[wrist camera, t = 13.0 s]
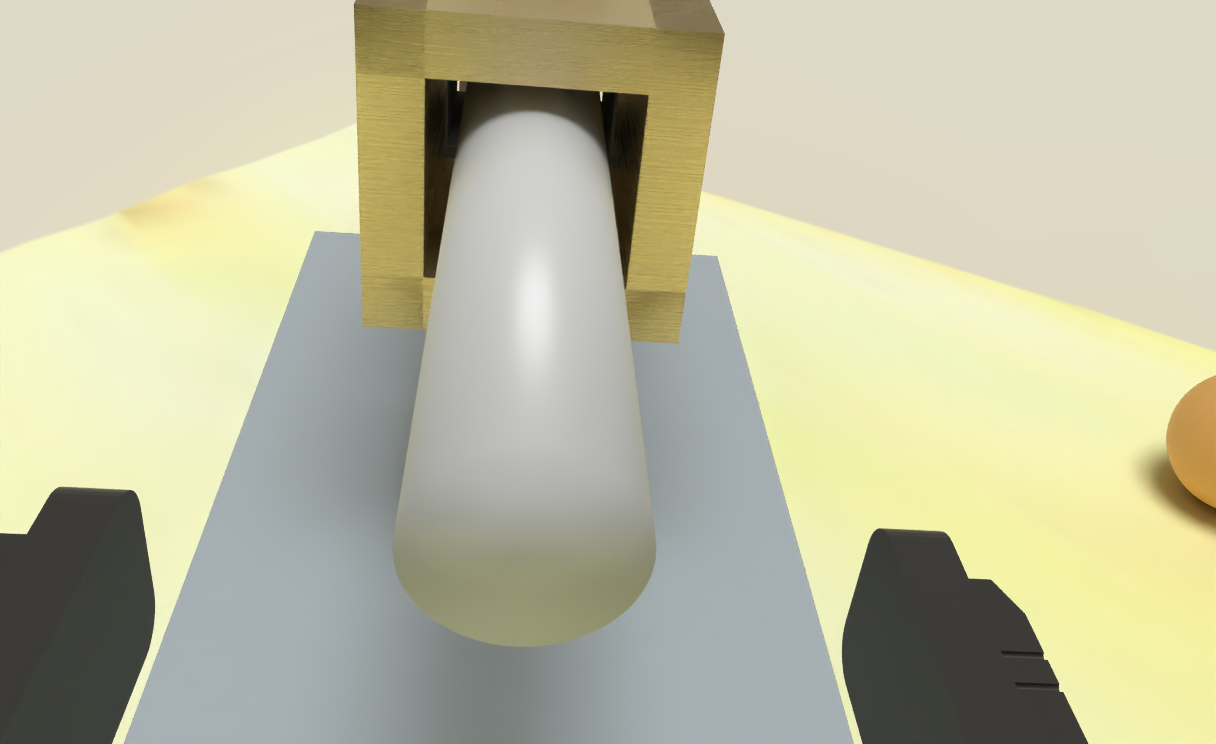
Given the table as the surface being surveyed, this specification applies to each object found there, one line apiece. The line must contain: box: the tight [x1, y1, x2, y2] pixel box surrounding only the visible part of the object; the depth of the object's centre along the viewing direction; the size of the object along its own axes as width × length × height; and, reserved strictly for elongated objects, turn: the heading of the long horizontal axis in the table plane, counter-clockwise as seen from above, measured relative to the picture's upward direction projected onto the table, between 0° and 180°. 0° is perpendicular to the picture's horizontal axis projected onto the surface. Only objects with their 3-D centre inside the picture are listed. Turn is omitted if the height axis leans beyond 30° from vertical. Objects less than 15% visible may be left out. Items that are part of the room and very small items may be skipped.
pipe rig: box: [124, 81, 854, 744], centre depth 25 cm, size 14×26×16 cm, turn 3°
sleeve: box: [354, 0, 725, 344], centre depth 24 cm, size 6×6×6 cm
